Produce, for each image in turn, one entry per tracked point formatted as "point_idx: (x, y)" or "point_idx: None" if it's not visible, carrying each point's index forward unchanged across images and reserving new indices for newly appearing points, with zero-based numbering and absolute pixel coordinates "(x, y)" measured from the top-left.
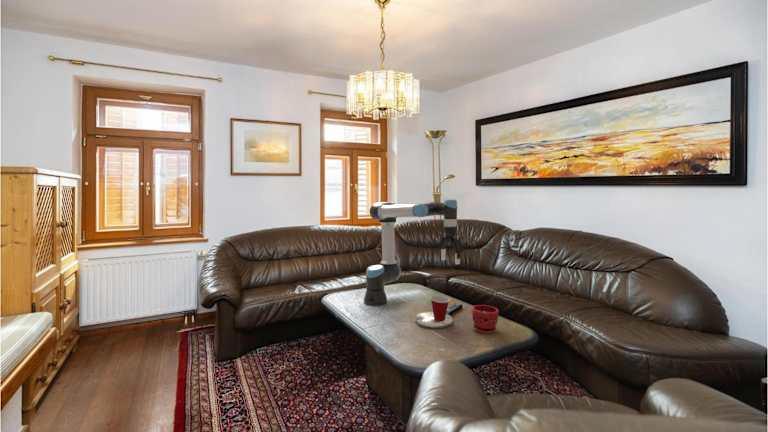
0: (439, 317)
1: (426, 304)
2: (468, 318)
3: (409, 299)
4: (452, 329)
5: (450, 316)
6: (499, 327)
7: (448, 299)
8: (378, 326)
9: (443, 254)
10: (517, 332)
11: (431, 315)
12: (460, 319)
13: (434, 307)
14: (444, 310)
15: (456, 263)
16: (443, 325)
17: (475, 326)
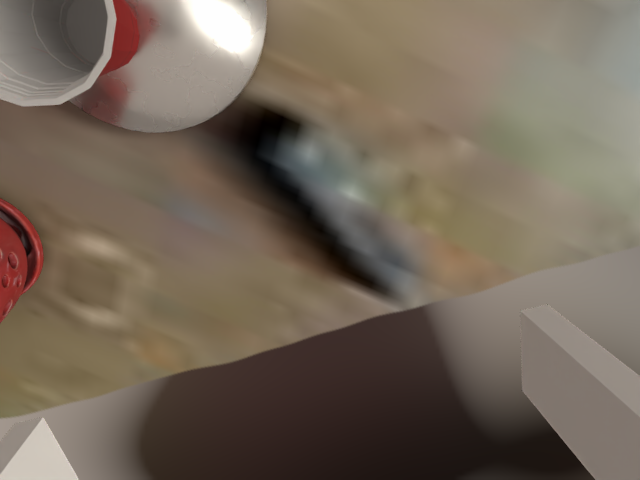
0: (45, 4)
1: (476, 103)
2: (179, 243)
3: (616, 26)
4: None
5: (148, 129)
6: (30, 329)
7: (32, 96)
8: None
9: (620, 447)
10: None
11: (190, 6)
12: (172, 195)
13: None
14: (5, 33)
15: (3, 450)
16: None
17: (2, 212)
